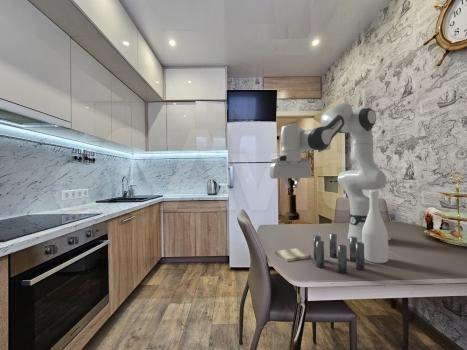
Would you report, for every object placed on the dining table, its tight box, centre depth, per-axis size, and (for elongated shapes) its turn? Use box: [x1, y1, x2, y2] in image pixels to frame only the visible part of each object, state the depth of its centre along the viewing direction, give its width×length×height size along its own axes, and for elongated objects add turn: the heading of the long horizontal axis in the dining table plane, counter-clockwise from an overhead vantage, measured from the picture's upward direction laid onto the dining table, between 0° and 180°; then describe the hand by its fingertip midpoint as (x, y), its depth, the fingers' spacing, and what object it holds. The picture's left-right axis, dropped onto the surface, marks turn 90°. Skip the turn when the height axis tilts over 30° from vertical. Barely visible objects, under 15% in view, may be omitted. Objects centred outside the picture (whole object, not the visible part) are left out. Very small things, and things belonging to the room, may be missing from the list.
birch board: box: [274, 247, 312, 262], centre depth 108 cm, size 12×11×1 cm
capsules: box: [313, 233, 366, 275], centre depth 97 cm, size 20×18×10 cm
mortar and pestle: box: [284, 179, 300, 221], centre depth 108 cm, size 7×6×18 cm
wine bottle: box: [361, 189, 389, 264], centre depth 101 cm, size 10×10×30 cm
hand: (291, 188), depth 108 cm, fingers closed on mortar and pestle, 2 cm apart
